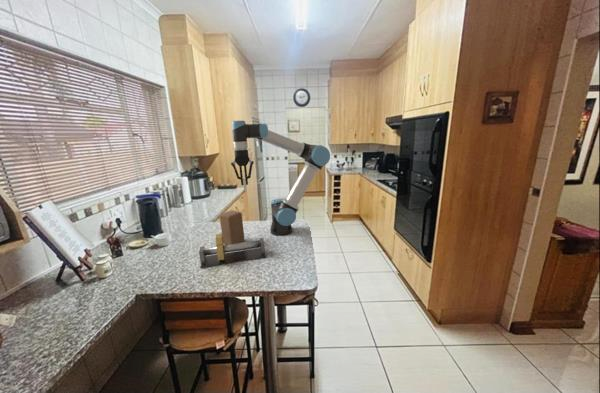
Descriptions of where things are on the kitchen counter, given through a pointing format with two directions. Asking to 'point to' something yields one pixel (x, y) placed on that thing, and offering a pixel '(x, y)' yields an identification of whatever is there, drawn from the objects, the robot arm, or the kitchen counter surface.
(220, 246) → the collar
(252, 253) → the pipe rig
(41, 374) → the kitchen counter surface
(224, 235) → the wooden block
